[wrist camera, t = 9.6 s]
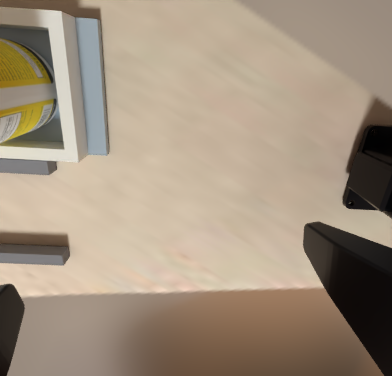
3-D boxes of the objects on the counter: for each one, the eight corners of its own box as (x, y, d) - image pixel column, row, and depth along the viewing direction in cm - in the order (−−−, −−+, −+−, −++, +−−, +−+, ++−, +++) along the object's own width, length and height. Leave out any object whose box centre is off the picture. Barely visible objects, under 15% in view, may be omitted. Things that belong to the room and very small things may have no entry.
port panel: (100, 20, 17) (86, 12, 14) (109, 153, 20) (98, 163, 18) (-86, 6, 16) (-130, -4, 14) (-45, 144, 19) (-75, 153, 17)
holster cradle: (54, 156, 20) (46, 161, 19) (69, 256, 23) (63, 265, 22) (-72, 149, 20) (-87, 154, 19) (-37, 251, 23) (-49, 260, 22)
